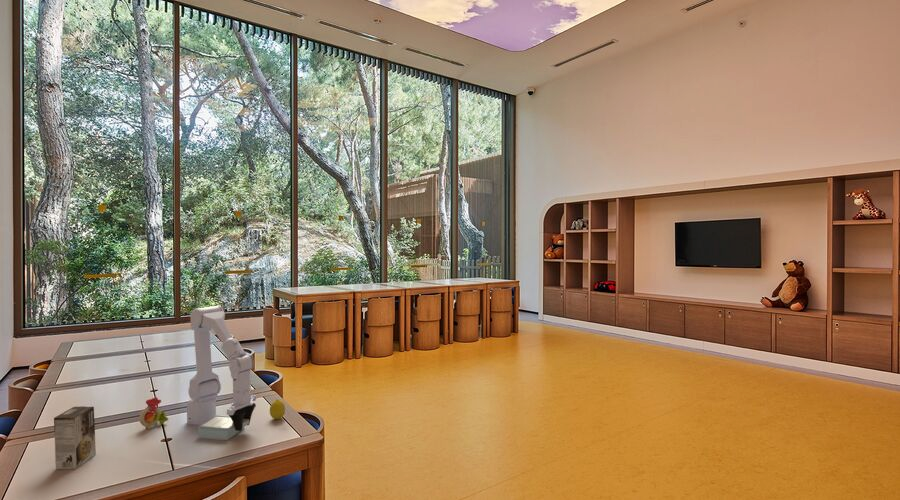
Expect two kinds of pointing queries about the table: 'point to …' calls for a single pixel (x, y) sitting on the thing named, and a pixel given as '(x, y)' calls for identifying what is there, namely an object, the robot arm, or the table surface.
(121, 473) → the table surface
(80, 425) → the coffee box
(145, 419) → the bird rattle
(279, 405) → the lemon
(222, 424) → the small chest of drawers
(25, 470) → the table surface
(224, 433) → the tub
